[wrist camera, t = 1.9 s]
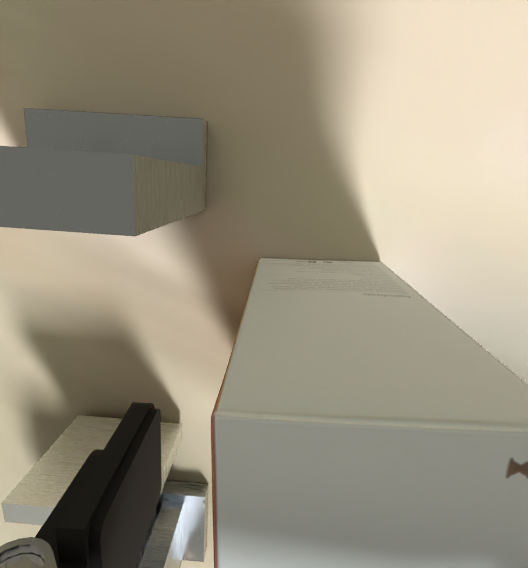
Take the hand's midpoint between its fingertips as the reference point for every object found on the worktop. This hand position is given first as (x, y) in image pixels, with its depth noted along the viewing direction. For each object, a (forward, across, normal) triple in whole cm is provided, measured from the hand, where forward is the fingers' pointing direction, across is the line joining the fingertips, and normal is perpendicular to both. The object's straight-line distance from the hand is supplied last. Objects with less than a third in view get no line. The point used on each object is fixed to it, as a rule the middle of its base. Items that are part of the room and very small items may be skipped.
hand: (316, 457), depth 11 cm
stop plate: (+10, +9, -7) cm, 15 cm away
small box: (+10, -1, 0) cm, 10 cm away
